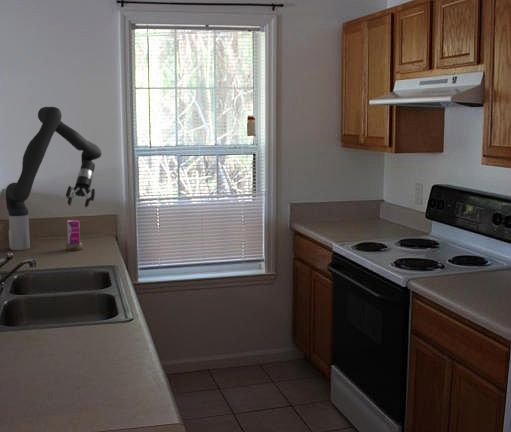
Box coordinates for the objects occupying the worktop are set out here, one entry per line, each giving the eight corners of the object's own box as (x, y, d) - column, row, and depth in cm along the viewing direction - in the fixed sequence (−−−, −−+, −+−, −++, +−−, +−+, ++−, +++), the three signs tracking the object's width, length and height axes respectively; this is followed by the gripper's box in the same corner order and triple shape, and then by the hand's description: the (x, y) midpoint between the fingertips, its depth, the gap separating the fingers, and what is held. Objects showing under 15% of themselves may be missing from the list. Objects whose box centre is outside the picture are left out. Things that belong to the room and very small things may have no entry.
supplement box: (67, 244, 336) (66, 222, 334) (68, 242, 341) (67, 220, 340) (79, 244, 337) (78, 221, 335) (80, 242, 343) (79, 219, 341)
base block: (69, 251, 334) (68, 245, 333) (63, 249, 340) (63, 243, 340) (84, 250, 338) (84, 244, 338) (79, 247, 345) (79, 241, 344)
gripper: (69, 173, 354) (62, 200, 346) (96, 176, 353) (89, 203, 345) (72, 181, 360) (65, 207, 352) (99, 184, 360) (92, 210, 352)
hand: (77, 205), depth 349 cm, fingers open, 8 cm apart
